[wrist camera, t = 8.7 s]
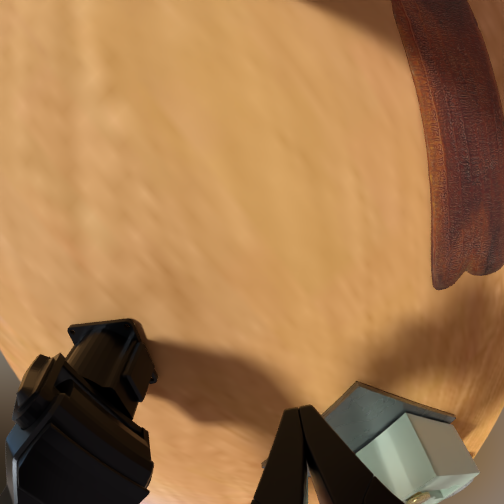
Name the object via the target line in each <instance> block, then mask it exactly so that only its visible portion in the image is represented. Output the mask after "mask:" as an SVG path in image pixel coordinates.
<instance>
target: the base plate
mask: <svg viewBox="0 0 504 504" xmlns="http://www.w3.org/2000/svg"><path fill="white" fill-rule="evenodd" d="M405 412H406V413H409V414H413V415H416V416H420V417H423V418H427V419H431V420H435V421H439V422H443V423H447V424H450V423H451V422H453V421H454V420H455V419H456V417H455V416H454V415H453V414H450V413H447V412H443V411H440V410H437V409H434V408H431V407H428V406H425V405H422V404H419V403H416V402H413V401H410V400H407V399H404V398H401V397H398V396H395V395H393V394H390V393H387V392H384V391H382V390H379V389H376V388H373V387H371V386H368V385H365V384H363V383H360V382H358V381H356V382H355V383H354V384H353V385H352V386H351V387H350V388H349V389H348V390H347V391H346V392H345V393H344V394H343V395H342V396H341V397H340V398H339V399H338V400H337V401H336V402H335V403H334V404H333V405H332V406H331V407H329V408H328V409H327V410H326V411H325V412H324V413H323V414H322V415H321V416H322V417H323V418H324V419H325V421H326V422H327V423H328V424H329V425H330V426H331V427H332V429H333V430H334V431H335V432H336V433H337V434H338V435H339V437H340V438H341V439H342V440H343V441H344V442H345V443H346V444H347V446H348V447H349V448H350V449H351V450H352V451H353V452H354V453H355V454H356V453H357V452H359V451H360V450H361V449H362V448H364V447H365V446H366V445H368V444H369V443H370V442H371V441H373V440H374V439H375V438H376V437H378V436H379V435H380V434H381V433H383V432H384V431H385V430H386V429H387V428H389V427H390V426H391V425H392V424H393V423H394V422H395V421H397V420H398V419H399V418H400V417H401V416H402V415H403V414H404V413H405ZM267 460H268V459H267ZM267 460H265V461H264V462H263V463H262V468H265V465H266V463H267ZM307 468H308V465H307ZM308 477H311V476H310V472H309V469H308ZM430 497H431V496H430V493H429V492H424V493H422V492H417V493H416V494H414V495H413V496H411V499H409V500H408V501H407V502H406V503H405V504H422V503H424V502H425V501H427V500H428V499H429V498H430Z"/></svg>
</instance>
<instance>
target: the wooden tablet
mask: <svg viewBox="0 0 504 504" xmlns="http://www.w3.org/2000/svg"><path fill="white" fill-rule="evenodd" d="M391 1H392V8H393V14H394V17H395V20H396V24H397V27H398V29H399V32H400V35H401V38H402V42H403V45H404V47H405V51H406V54H407V58H408V61H409V66H410V69H411V73H412V76H413V80H414V84H415V87H416V91H417V96H418V101H419V104H420V111H421V116H422V121H423V127H424V134H425V141H426V148H427V157H428V171H429V181H430V193H431V272H432V281H433V287H434V288H435V289H436V290H442V289H446V288H448V287H449V286H452V285H453V284H455V282H456V281H457V280H458V279H459V278H460V276H461V275H462V274H463V273H464V272H465V271H468V272H469V273H470V274H472V275H479V276H482V275H488V274H491V273H494V272H496V271H498V270H499V269H500V268H501V267H502V266H503V265H504V116H503V111H502V106H501V101H500V96H499V92H498V88H497V84H496V80H495V76H494V73H493V69H492V66H491V62H490V59H489V55H488V52H487V49H486V46H485V43H484V40H483V37H482V34H481V32H480V30H479V28H478V24H477V22H476V19H475V17H474V15H473V12H472V10H471V8H470V6H469V4H468V2H467V0H391Z"/></svg>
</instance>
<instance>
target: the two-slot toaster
mask: <svg viewBox="0 0 504 504" xmlns="http://www.w3.org/2000/svg"><path fill="white" fill-rule="evenodd" d="M356 456H357V457H358V458H359V459H360V460H361V461H362V462H363V463H364V464H365V465H366V467H367V468H368V469H369V470H370V471H371V472H372V473H373V474H374V476H376V477H377V478H378V479H379V480H380V481H381V482H382V483H383V484H384V485H385V486H386V487H387V488H388V489H389V490H390V491H391V492H392V493H393V494H394V495H395V496H396V497H398V498H399V499H400V500H401V501H403V502H404V503H406V502H407V501H408V500H409V499H411V496H413V495H414V494H416V493H417V492H422V493H424V492H429V493H430V496H431V497H430V498H429V499H428V500H427V501H425V502H424V503H422V504H437V503H439V502H440V501H442V500H443V499H445V498H446V497H448V496H449V495H451V494H452V493H454V492H455V491H456V490H458V489H459V488H461V487H462V486H463V485H465V484H466V483H467V482H469V481H470V480H471V479H473V478H474V477H475V476H476V475H478V474H479V473H480V472H479V470H478V468H477V466H476V464H475V462H474V461H473V459H472V457H471V455H470V453H469V452H468V450H467V448H466V446H465V445H464V443H463V441H462V439H461V438H460V436H459V434H458V433H457V431H456V429H455V427H454V426H453V425H451V424H447V423H443V422H439V421H435V420H431V419H427V418H423V417H420V416H416V415H413V414H409V413H406V412H405V413H404V414H403V415H402V416H401V417H400V418H399V419H398V420H397V421H395V422H394V423H393V424H392V425H391V426H390V427H389V428H387V429H386V430H385V431H384V432H383V433H381V434H380V435H379V436H378V437H376V438H375V439H374V440H373V441H371V442H370V443H369V444H368V445H366V446H365V447H364V448H362V449H361V450H360V451H359V452H357V453H356ZM374 476H373V477H374Z"/></svg>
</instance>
